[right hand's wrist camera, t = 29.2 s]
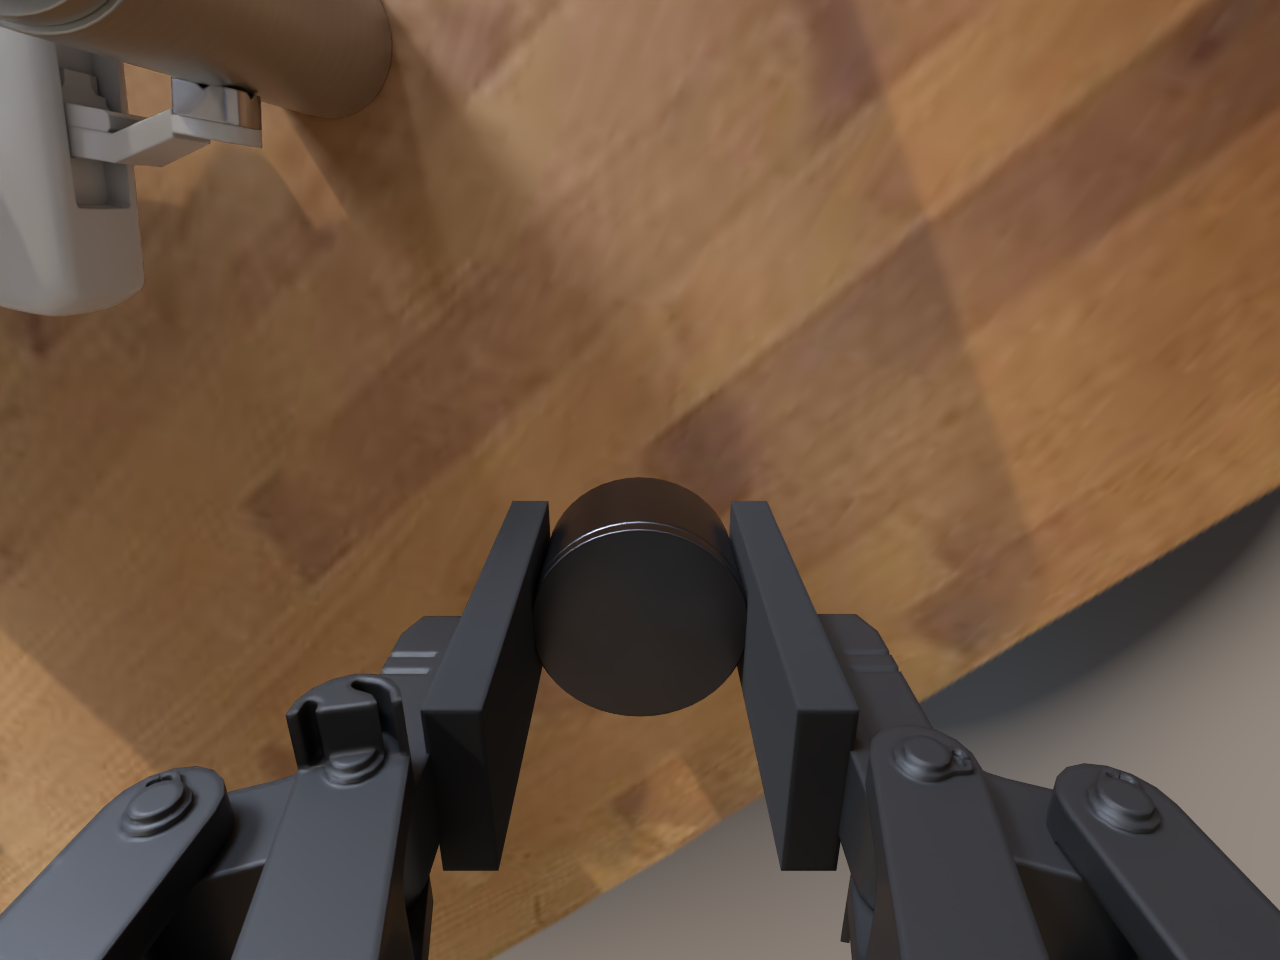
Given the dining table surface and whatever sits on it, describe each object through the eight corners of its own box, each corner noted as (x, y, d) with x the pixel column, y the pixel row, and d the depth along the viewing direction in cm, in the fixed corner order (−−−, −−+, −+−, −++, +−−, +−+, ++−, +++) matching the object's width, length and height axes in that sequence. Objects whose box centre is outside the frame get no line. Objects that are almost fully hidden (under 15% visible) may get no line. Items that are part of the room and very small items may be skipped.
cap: (516, 517, 14) (491, 577, 12) (692, 447, 14) (703, 496, 11) (593, 662, 16) (585, 742, 13) (757, 603, 15) (778, 677, 13)
